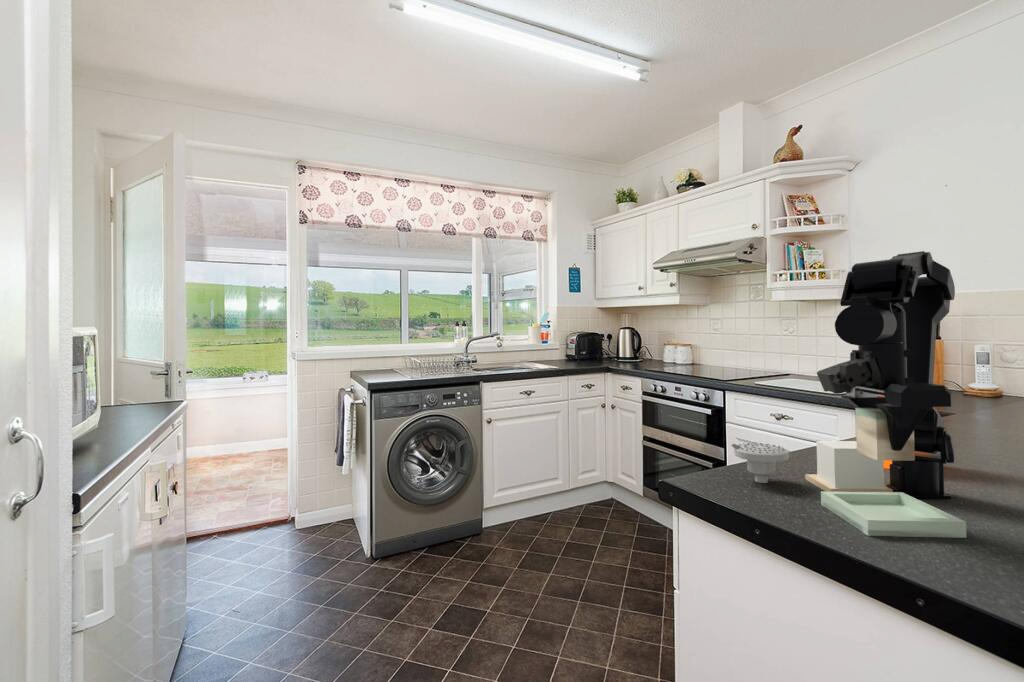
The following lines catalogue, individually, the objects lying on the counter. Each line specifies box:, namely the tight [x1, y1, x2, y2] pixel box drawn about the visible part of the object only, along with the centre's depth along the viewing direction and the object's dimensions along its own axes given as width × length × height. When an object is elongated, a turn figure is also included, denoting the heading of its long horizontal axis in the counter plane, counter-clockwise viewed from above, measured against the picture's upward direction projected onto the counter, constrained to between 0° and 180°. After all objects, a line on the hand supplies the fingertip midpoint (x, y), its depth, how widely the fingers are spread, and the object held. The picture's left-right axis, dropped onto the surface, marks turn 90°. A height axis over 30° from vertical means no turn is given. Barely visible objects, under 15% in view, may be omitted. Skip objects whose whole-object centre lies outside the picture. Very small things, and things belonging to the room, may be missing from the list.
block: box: [854, 407, 915, 461], centre depth 71 cm, size 5×5×7 cm
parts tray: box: [820, 490, 967, 539], centre depth 71 cm, size 12×12×2 cm
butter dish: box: [804, 440, 894, 492], centre depth 87 cm, size 10×9×8 cm
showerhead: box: [730, 442, 790, 484], centre depth 91 cm, size 9×7×10 cm
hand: (884, 446), depth 71 cm, fingers closed on block, 5 cm apart
